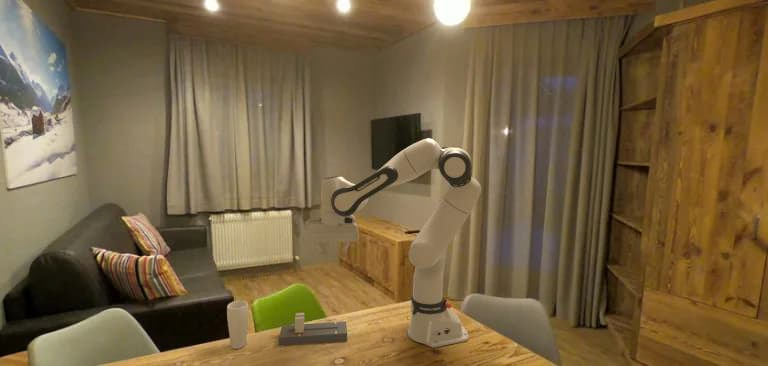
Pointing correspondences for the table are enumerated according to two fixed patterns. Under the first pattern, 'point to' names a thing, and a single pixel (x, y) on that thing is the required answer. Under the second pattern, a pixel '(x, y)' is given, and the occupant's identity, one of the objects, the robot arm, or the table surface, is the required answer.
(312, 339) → the console
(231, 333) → the drinking glass
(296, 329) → the fader tab
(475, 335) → the table surface
